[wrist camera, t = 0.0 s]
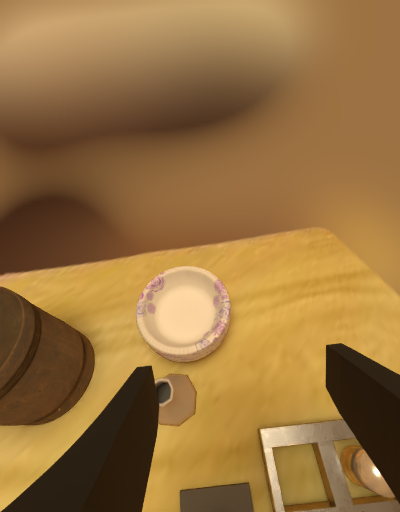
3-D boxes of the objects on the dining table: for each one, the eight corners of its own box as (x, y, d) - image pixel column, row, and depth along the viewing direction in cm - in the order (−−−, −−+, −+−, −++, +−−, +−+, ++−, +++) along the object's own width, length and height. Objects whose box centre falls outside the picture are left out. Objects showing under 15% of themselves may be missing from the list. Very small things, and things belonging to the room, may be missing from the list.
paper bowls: (151, 287, 49) (140, 266, 43) (226, 283, 49) (226, 261, 42) (143, 368, 41) (127, 357, 34) (233, 364, 40) (235, 353, 33)
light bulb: (380, 484, 31) (410, 495, 26) (348, 487, 31) (373, 499, 26) (365, 444, 33) (390, 448, 28) (335, 447, 33) (355, 451, 28)
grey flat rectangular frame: (410, 516, 29) (424, 523, 27) (277, 530, 29) (281, 539, 27) (369, 416, 35) (378, 415, 33) (258, 429, 35) (260, 429, 33)
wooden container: (34, 326, 47) (-86, 264, 28) (106, 333, 45) (27, 272, 27) (-13, 418, 38) (-223, 414, 20) (74, 431, 36) (-72, 439, 18)
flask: (191, 367, 40) (183, 353, 32) (202, 418, 36) (196, 417, 28) (148, 380, 40) (129, 369, 31) (154, 433, 35) (134, 436, 27)
